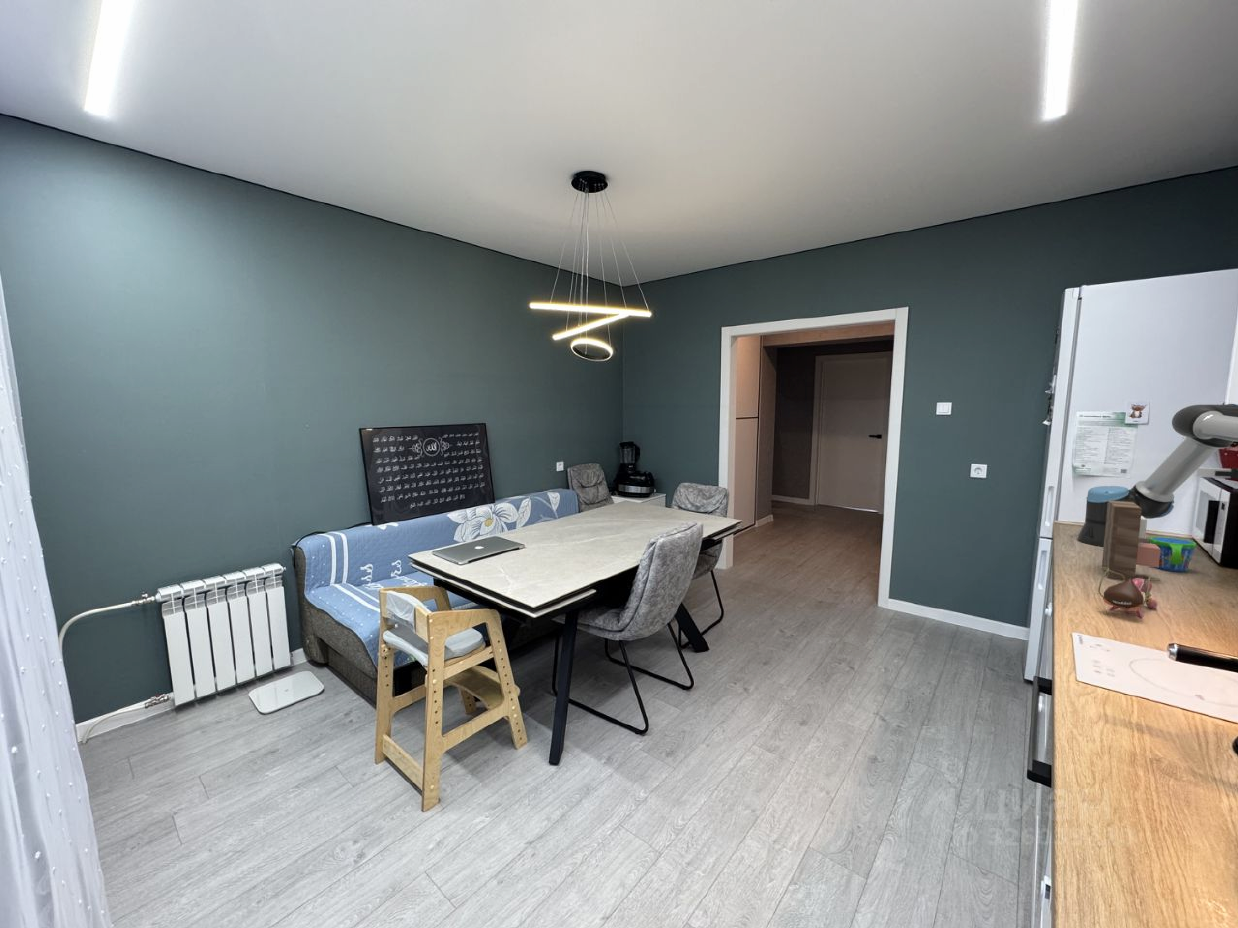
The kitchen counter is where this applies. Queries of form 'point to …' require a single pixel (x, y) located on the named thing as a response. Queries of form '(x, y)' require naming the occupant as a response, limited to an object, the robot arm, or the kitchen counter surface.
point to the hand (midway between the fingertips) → (1197, 472)
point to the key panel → (1121, 539)
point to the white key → (1143, 527)
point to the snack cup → (1174, 553)
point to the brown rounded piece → (1129, 594)
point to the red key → (1148, 555)
